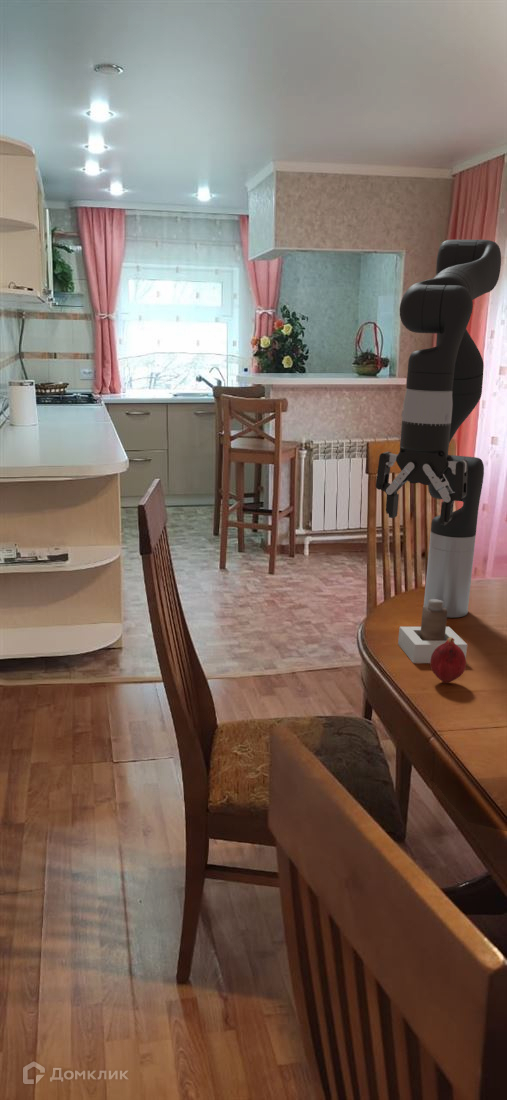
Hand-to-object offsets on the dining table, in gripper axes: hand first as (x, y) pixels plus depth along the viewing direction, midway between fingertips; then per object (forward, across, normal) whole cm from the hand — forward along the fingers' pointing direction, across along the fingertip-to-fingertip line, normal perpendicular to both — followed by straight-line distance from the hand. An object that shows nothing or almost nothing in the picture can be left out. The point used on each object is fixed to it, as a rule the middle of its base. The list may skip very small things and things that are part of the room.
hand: (417, 520), depth 135 cm
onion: (+28, -7, -2) cm, 28 cm away
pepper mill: (+28, 0, -14) cm, 31 cm away
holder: (+28, 0, -14) cm, 31 cm away
